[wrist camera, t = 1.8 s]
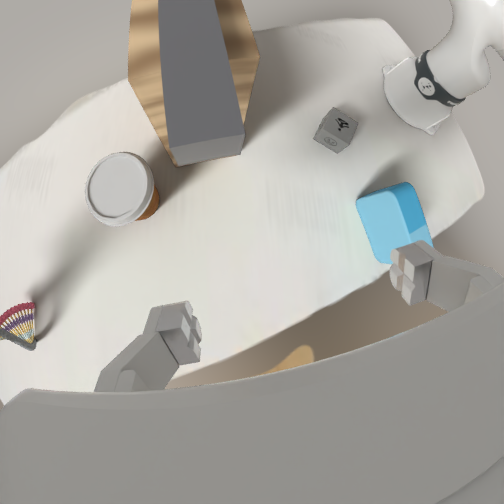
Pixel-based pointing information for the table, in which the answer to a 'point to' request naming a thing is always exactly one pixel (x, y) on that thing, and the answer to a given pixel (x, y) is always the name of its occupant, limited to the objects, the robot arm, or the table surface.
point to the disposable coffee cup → (121, 190)
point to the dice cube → (336, 130)
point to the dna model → (4, 334)
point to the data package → (392, 219)
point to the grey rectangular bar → (197, 83)
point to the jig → (149, 66)
